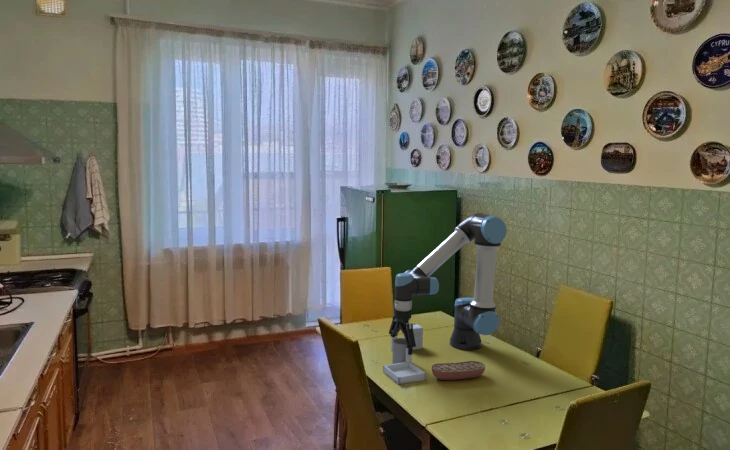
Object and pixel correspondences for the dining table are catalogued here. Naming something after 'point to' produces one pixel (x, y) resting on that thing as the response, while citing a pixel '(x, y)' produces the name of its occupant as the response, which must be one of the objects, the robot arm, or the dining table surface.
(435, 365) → the mitochondrion model
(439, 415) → the dining table surface
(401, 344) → the cup
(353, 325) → the dining table surface
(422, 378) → the grey tray
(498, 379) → the dining table surface
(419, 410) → the dining table surface
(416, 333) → the small box
